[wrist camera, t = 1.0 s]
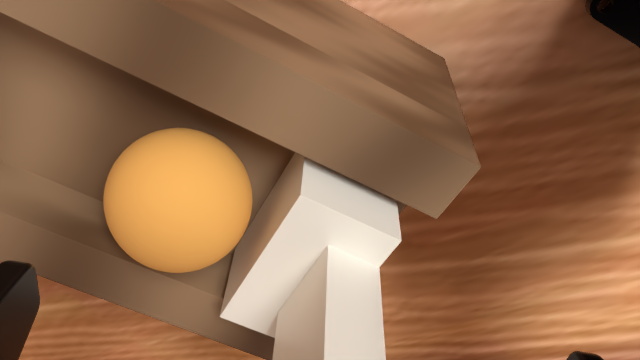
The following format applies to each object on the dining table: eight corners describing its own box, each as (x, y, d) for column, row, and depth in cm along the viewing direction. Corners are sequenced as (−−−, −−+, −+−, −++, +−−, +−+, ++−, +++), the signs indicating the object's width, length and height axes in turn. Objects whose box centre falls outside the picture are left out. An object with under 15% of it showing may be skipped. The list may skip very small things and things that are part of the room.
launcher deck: (444, 58, 21) (481, 167, 15) (312, 241, 26) (303, 373, 21) (-11, -196, 17) (-190, -177, 11) (-59, 79, 22) (-200, 187, 17)
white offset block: (393, 175, 18) (422, 411, 11) (313, 281, 21) (298, 521, 14) (306, 133, 17) (282, 359, 11) (235, 248, 20) (180, 486, 13)
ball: (282, 139, 17) (268, 226, 14) (228, 229, 19) (205, 322, 16) (154, 78, 16) (107, 156, 13) (112, 180, 18) (62, 269, 15)
